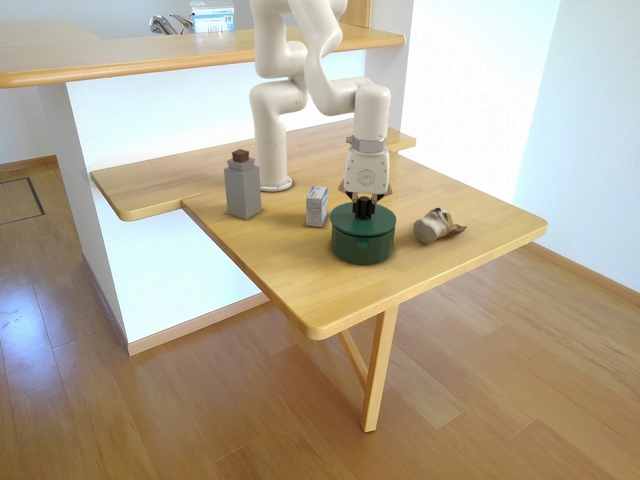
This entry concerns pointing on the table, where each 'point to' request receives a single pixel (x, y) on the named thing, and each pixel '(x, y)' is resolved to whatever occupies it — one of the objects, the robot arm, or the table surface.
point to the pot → (362, 247)
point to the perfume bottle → (242, 185)
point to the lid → (363, 219)
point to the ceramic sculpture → (436, 226)
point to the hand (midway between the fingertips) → (363, 215)
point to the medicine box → (316, 206)
